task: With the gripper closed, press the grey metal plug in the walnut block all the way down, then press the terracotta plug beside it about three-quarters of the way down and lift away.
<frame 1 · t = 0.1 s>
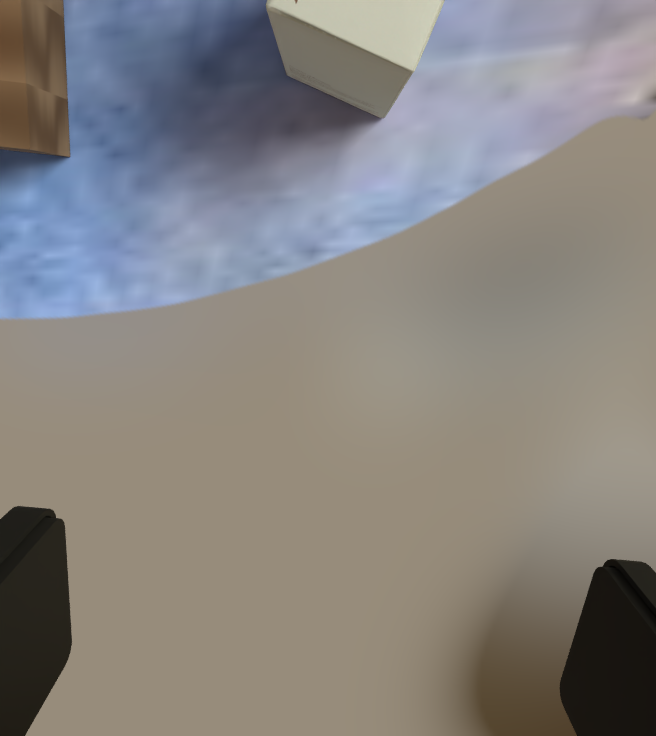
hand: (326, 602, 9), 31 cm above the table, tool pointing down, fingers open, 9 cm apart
supplement box: (356, 42, 34), on the table
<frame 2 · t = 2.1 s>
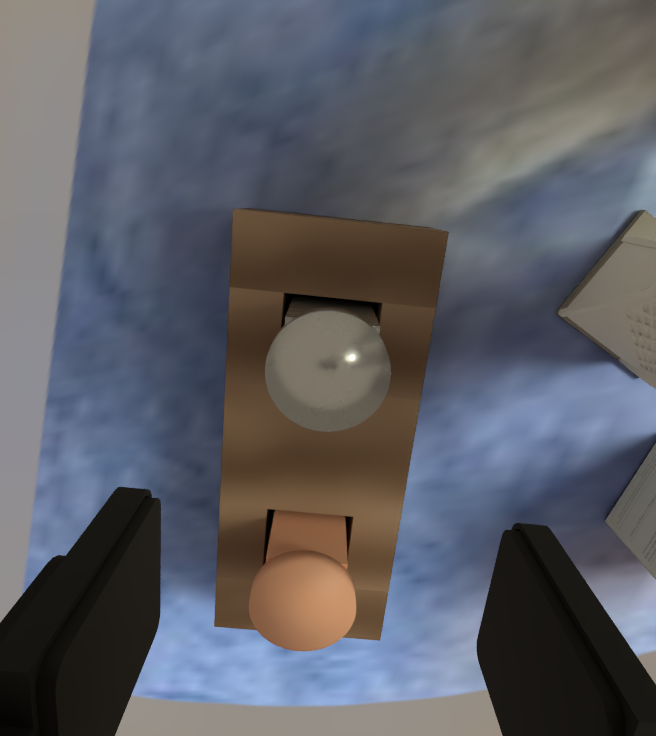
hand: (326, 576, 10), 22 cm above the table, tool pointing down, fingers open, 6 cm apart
skyscraper: (623, 302, 30), on the table
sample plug: (328, 353, 24), point 6 cm above the table, slide at 0.0 cm
terracotta plug: (305, 565, 28), point 6 cm above the table, slide at 0.0 cm
plug block: (318, 417, 32), on the table
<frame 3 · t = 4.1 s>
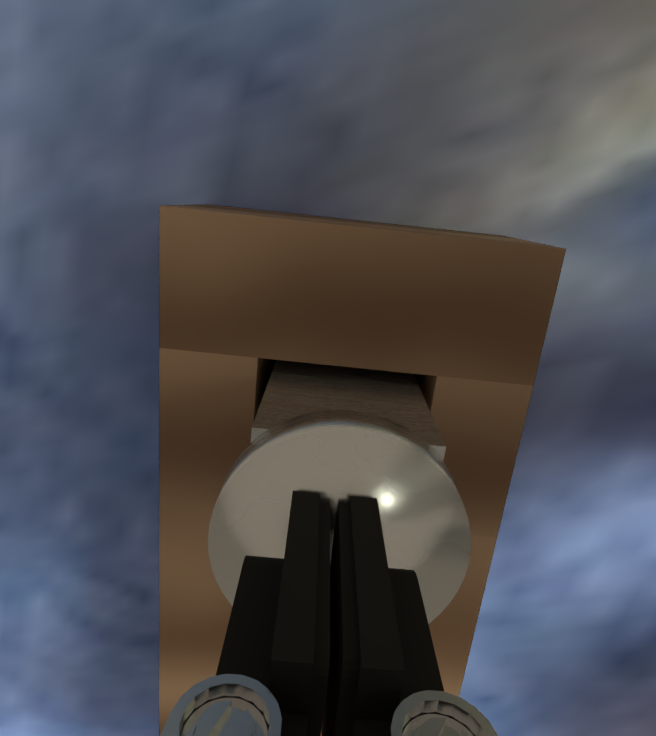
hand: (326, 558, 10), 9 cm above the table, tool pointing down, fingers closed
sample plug: (338, 472, 13), point 6 cm above the table, slide at 0.1 cm, touching gripper
plug block: (321, 524, 21), on the table
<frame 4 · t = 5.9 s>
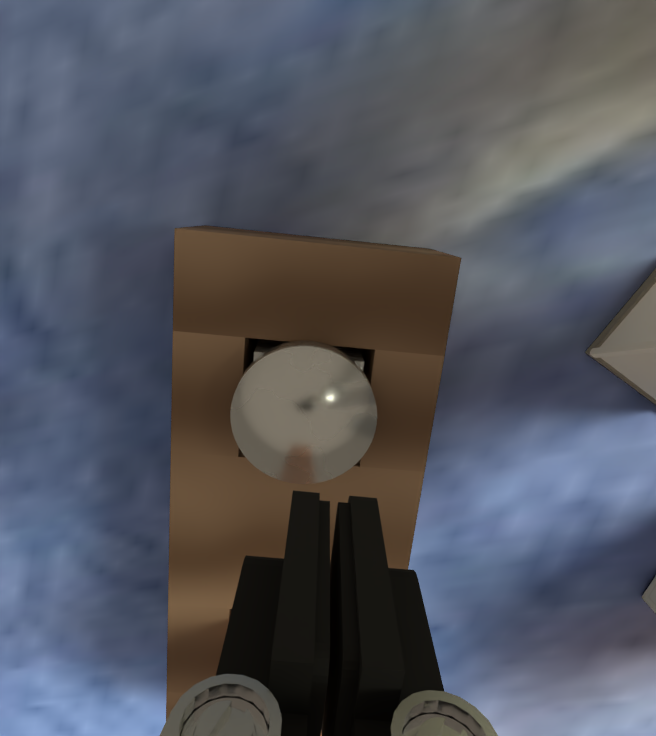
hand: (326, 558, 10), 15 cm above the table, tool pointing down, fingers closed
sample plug: (305, 390, 21), point 3 cm above the table, slide at 3.1 cm
plug block: (296, 480, 26), on the table
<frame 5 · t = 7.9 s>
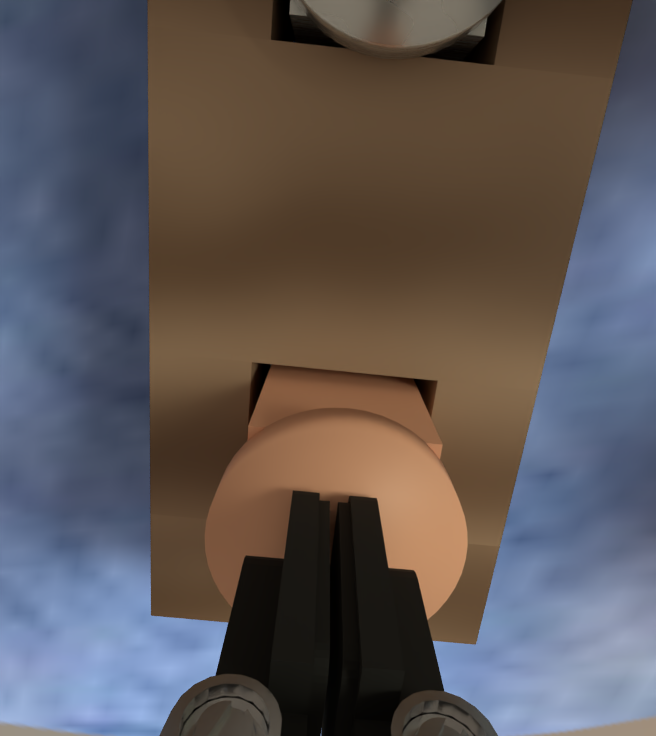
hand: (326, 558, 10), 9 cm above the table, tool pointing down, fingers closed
terracotta plug: (335, 470, 13), point 6 cm above the table, slide at 0.6 cm, touching gripper
plug block: (354, 219, 17), on the table
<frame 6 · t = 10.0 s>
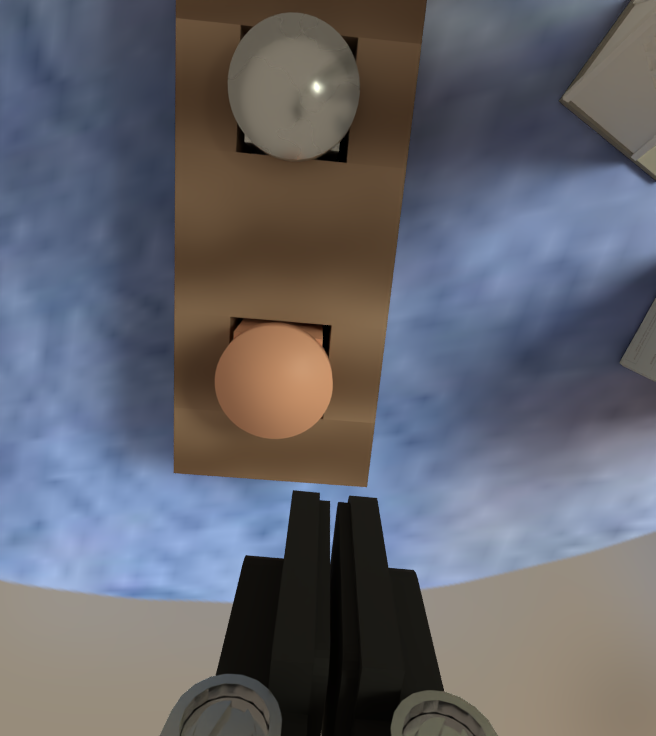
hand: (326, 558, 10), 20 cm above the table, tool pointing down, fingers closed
skyscraper: (635, 87, 26), on the table
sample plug: (297, 104, 23), point 3 cm above the table, slide at 3.1 cm
terracotta plug: (279, 365, 26), point 4 cm above the table, slide at 2.1 cm
plug block: (292, 238, 28), on the table
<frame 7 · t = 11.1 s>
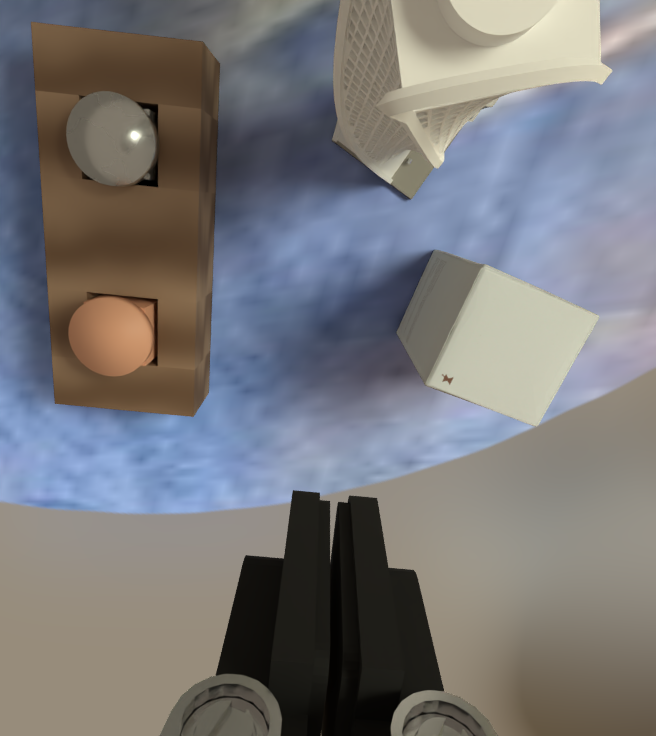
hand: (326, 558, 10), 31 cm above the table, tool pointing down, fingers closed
skyscraper: (388, 131, 37), on the table
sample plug: (129, 145, 34), point 3 cm above the table, slide at 3.1 cm
terracotta plug: (126, 327, 36), point 4 cm above the table, slide at 2.1 cm
supplement box: (455, 307, 40), on the table
plug block: (146, 236, 39), on the table
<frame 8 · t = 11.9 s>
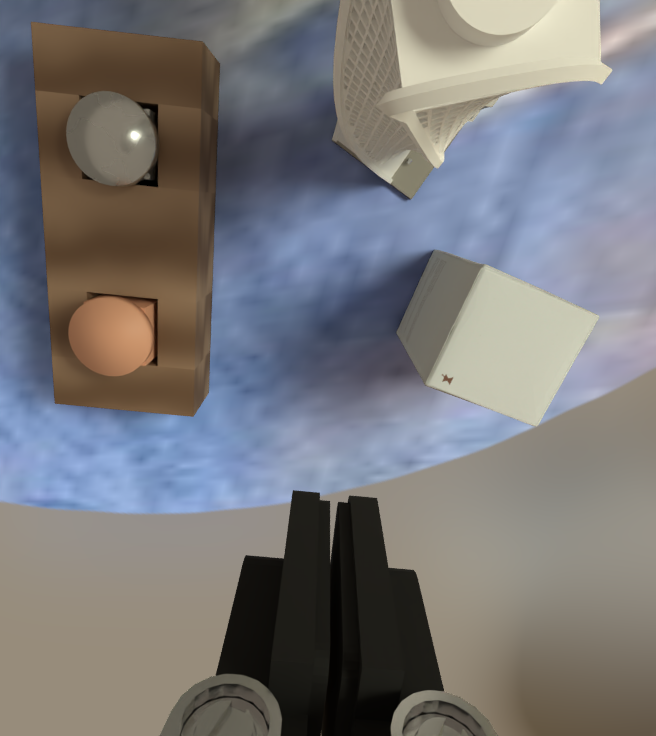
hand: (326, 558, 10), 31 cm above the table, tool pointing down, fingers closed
skyscraper: (388, 131, 37), on the table
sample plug: (129, 145, 34), point 3 cm above the table, slide at 3.1 cm
terracotta plug: (126, 327, 36), point 4 cm above the table, slide at 2.1 cm
supplement box: (455, 307, 40), on the table
plug block: (146, 236, 39), on the table
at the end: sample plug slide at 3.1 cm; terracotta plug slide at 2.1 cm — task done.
